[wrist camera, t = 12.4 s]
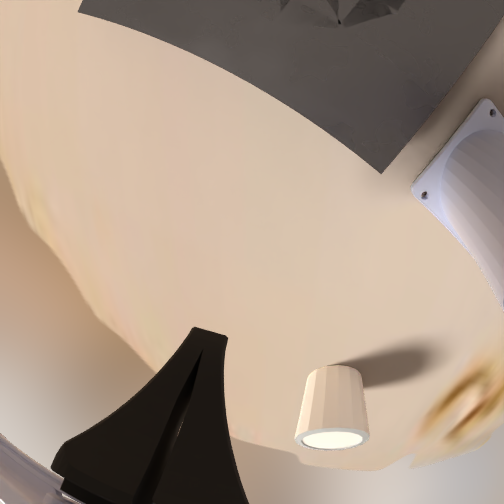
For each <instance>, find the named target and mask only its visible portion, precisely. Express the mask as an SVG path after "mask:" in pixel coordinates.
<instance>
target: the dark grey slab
mask: <svg viewBox="0 0 504 504" xmlns="http://www.w3.org/2000/svg"><path fill="white" fill-rule="evenodd" d="M78 12H79V13H83V14H87V15H90V16H94V17H97V18H101V19H104V20H107V21H110V22H114V23H117V24H120V25H123V26H125V27H128V28H131V29H134V30H137V31H139V32H142V33H145V34H147V35H150V36H153V37H155V38H158V39H160V40H162V41H165V42H167V43H170V44H172V45H174V46H177V47H179V48H181V49H183V50H186V51H188V52H190V53H192V54H194V55H197V56H199V57H201V58H203V59H205V60H207V61H209V62H211V63H213V64H215V65H217V66H219V67H221V68H223V69H225V70H227V71H229V72H230V73H232V74H234V75H236V76H238V77H240V78H242V79H243V80H245V81H247V82H249V83H251V84H252V85H254V86H256V87H258V88H259V89H261V90H263V91H264V92H266V93H268V94H269V95H271V96H273V97H274V98H276V99H278V100H279V101H281V102H282V103H284V104H286V105H287V106H289V107H290V108H292V109H293V110H295V111H297V112H298V113H300V114H301V115H303V116H304V117H306V118H307V119H309V120H310V121H312V122H313V123H314V124H316V125H317V126H319V127H320V128H322V129H323V130H325V131H326V132H327V133H329V134H330V135H332V136H333V137H334V138H336V139H337V140H338V141H340V142H341V143H342V144H344V145H345V146H346V147H348V148H349V149H350V150H352V151H353V152H354V153H356V154H357V155H358V156H359V157H361V158H362V159H363V160H364V161H366V162H367V163H368V164H369V165H371V166H372V167H373V168H374V169H376V170H377V171H378V172H379V173H380V174H382V173H383V172H384V170H385V169H386V168H387V167H388V166H389V164H390V163H391V162H392V161H393V160H394V159H395V157H396V156H397V155H398V154H399V153H400V151H401V150H402V149H403V148H404V147H405V145H406V144H407V143H408V142H409V141H410V139H411V138H412V137H413V136H414V134H415V133H416V132H417V131H418V129H419V128H420V127H421V126H422V125H423V123H424V122H425V121H426V120H427V118H428V117H429V116H430V115H431V113H432V112H433V111H434V110H435V108H436V107H437V106H438V104H439V103H440V102H441V101H442V99H443V98H444V97H445V95H446V94H447V93H448V92H449V90H450V89H451V88H452V86H453V85H454V84H455V82H456V81H457V80H458V78H459V77H460V76H461V74H462V73H463V72H464V70H465V69H466V68H467V66H468V65H469V64H470V62H471V61H472V60H473V58H474V57H475V56H476V54H477V53H478V51H479V50H480V49H481V47H482V46H483V44H484V43H485V42H486V40H487V39H488V37H489V36H490V34H491V33H492V32H493V30H494V29H495V27H496V26H497V24H498V23H499V21H500V20H501V18H502V17H503V15H504V0H83V1H82V3H81V5H80V7H79V10H78Z"/></svg>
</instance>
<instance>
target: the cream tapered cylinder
mask: <svg viewBox="0 0 504 504" xmlns="http://www.w3.org/2000/svg"><path fill="white" fill-rule="evenodd" d="M368 440H369V427H368V418H367V411H366V403H365V396H364V390H363V383H362V377H361V374H360V373H359V371H358V370H357V369H354V368H352V367H350V366H343V365H331V366H325V367H322V368H318V369H316V370H315V371H313V372H312V373H310V374H309V376H308V378H307V382H306V387H305V392H304V397H303V402H302V407H301V412H300V417H299V421H298V426H297V430H296V435H295V441H296V443H297V444H299V445H300V446H302V447H305V448H309V449H313V450H324V451H332V450H344V449H349V448H354V447H356V446H359V445H362V444H364V443H365V442H366V441H368Z"/></svg>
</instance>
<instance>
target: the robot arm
mask: <svg viewBox="0 0 504 504" xmlns="http://www.w3.org/2000/svg"><path fill="white" fill-rule="evenodd" d="M491 109H492V111H493V114H492V116H490V110H491ZM411 192H412V194H413V195H414V196H415V197H416V198H417V199H418V200H419V201H420V202H421V203H422V204H423V205H424V206H425V207H426V208H427V209H428V210H429V211H430V212H431V213H432V214H433V215H434V216H435V217H436V218H437V219H438V220H439V221H440V222H441V223H442V224H443V225H444V226H445V227H446V228H447V229H448V230H449V231H450V232H451V233H452V234H453V236H454V237H455V238H456V239H457V240H458V241H459V242H460V243H461V244H462V245H463V247H464V248H465V249H466V250H467V251H468V252H469V253H470V254H471V256H472V257H473V258H474V260H475V261H476V263H477V265H478V266H479V268H480V270H481V271H482V273H483V275H484V277H485V278H486V280H487V282H488V284H489V285H490V287H491V289H492V291H493V293H494V295H495V296H496V298H497V300H498V302H499V304H500V306H501V308H502V310H503V312H504V117H503V116H502V114H501V113H500V112H499V110H498V109H497V108H496V106H495V105H494V104H493V102H492V101H491V100H490V99H487V98H482V99H481V100H480V101H479V102H478V104H477V105H476V106H475V108H474V109H473V110H472V112H471V113H470V114H469V116H468V117H467V118H466V119H465V121H464V122H463V123H462V125H461V126H460V127H459V128H458V130H457V131H456V132H455V133H454V135H453V136H452V137H451V138H450V140H449V141H448V142H447V143H446V144H445V146H444V147H443V148H442V149H441V151H440V152H439V153H438V154H437V155H436V157H435V158H434V159H433V160H432V161H431V162H430V164H429V165H428V166H427V167H426V168H425V169H424V171H423V172H422V173H421V174H420V175H419V176H418V178H417V179H416V180H415V181H414V182H413V183H412V185H411ZM423 192H427V194H426V196H424V197H421V195H422V193H423ZM227 341H228V338H227V336H225V335H222V334H218V333H215V332H211V331H207V330H204V329H201V328H197V327H194V328H192V329H191V331H190V333H189V334H188V336H187V337H186V339H185V340H184V342H183V343H182V344H181V346H180V347H179V348H178V350H177V351H176V352H175V353H174V355H173V356H172V357H171V358H170V359H169V360H168V362H167V363H166V364H165V365H164V366H163V367H162V369H161V370H160V371H159V372H158V373H157V374H156V375H155V376H154V377H153V378H152V379H151V380H150V381H149V382H148V383H147V384H146V385H145V386H144V387H143V388H142V389H141V390H140V391H139V392H138V393H137V394H135V396H133V397H132V398H131V399H130V400H128V401H127V402H126V403H125V404H124V405H122V406H121V407H120V408H119V409H117V410H116V411H115V412H113V413H112V414H111V415H109V416H108V417H106V418H105V419H103V420H102V421H100V422H99V423H97V424H96V425H94V426H93V427H91V428H90V429H88V430H86V431H84V432H83V433H81V434H79V435H77V436H75V437H74V438H71V439H70V440H68V441H66V442H65V443H64V444H63V445H62V446H61V448H60V449H59V451H58V452H57V454H56V456H55V458H54V460H53V463H52V465H51V469H52V470H53V471H54V472H56V473H57V474H59V475H60V476H62V477H64V479H63V478H61V477H60V476H58V475H56V474H55V473H53V472H51V471H50V470H48V469H47V468H45V467H44V466H42V465H41V464H39V463H38V462H36V461H35V460H33V459H32V458H30V457H29V456H28V455H26V454H25V453H23V452H22V451H21V450H19V449H18V448H17V447H15V446H14V445H13V444H11V443H10V442H9V441H8V440H7V439H6V437H4V436H3V435H2V434H1V433H0V500H1V502H3V504H80V503H81V504H249V502H248V500H247V498H246V495H245V492H244V489H243V486H242V483H241V480H240V477H239V473H238V470H237V466H236V462H235V458H234V454H233V450H232V446H231V441H230V436H229V430H228V424H227V417H226V408H225V397H224V358H225V350H226V346H227ZM182 422H183V423H182ZM181 424H182V425H181ZM180 427H181V428H180ZM179 430H180V431H179ZM178 432H179V433H178ZM177 435H178V436H177ZM62 493H63V494H65V495H66V496H68V497H70V498H72V499H74V500H75V501H77V502H75V501H73V500H71V499H68V498H66V497H63V496H62ZM78 502H79V503H78Z"/></svg>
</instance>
